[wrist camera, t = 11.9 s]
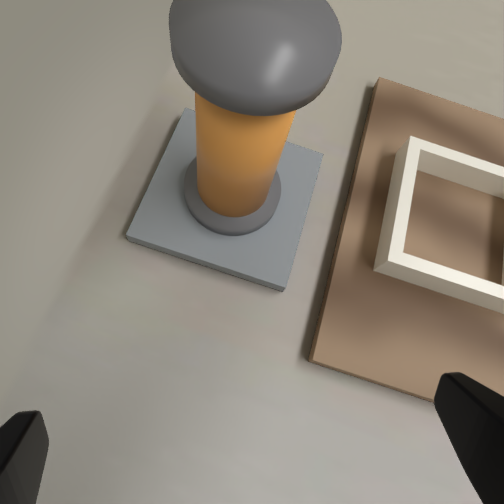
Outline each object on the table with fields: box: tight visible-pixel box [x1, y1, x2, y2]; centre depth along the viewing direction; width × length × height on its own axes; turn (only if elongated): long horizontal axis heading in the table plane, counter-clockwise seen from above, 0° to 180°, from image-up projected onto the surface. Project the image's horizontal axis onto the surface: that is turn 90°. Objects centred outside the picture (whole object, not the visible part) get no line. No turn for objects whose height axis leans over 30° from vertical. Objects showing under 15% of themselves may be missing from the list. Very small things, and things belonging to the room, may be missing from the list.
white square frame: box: [373, 136, 504, 314], centre depth 24 cm, size 9×9×2 cm
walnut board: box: [308, 77, 504, 403], centre depth 26 cm, size 22×14×1 cm, turn 163°
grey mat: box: [126, 108, 323, 292], centre depth 25 cm, size 10×10×1 cm
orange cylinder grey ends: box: [169, 0, 342, 236], centre depth 19 cm, size 6×6×12 cm
